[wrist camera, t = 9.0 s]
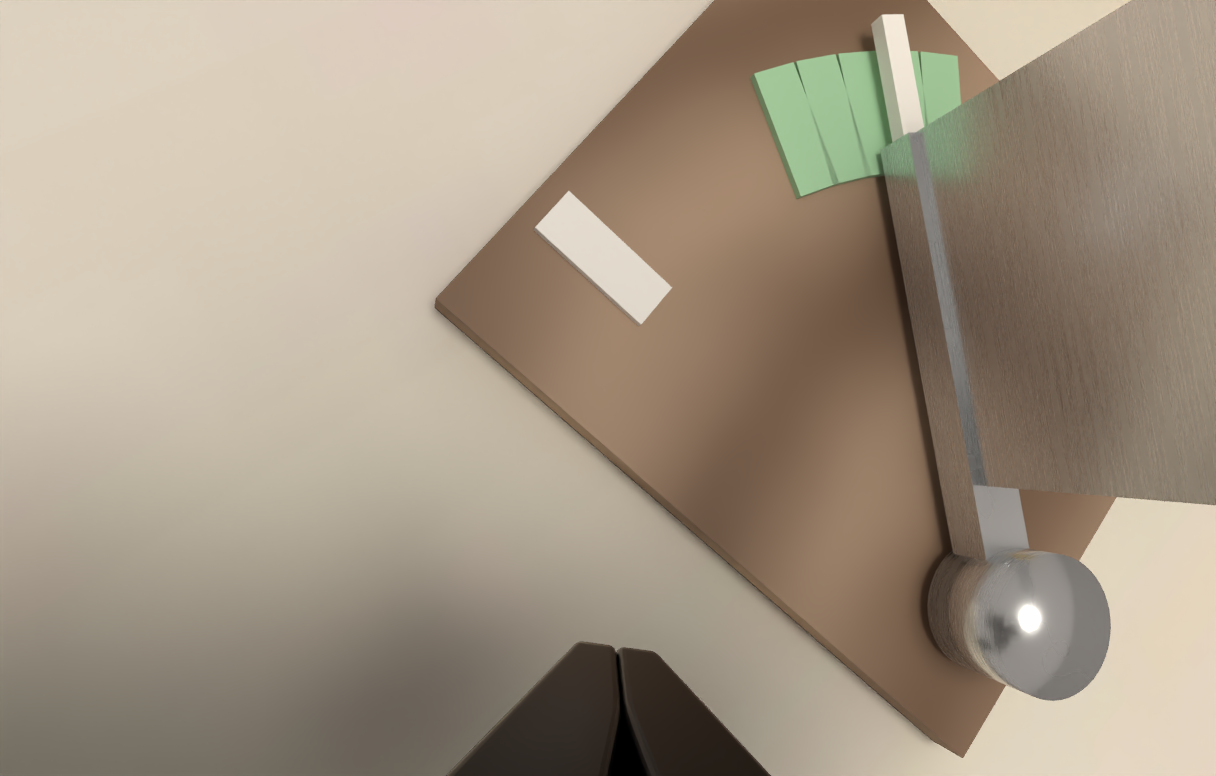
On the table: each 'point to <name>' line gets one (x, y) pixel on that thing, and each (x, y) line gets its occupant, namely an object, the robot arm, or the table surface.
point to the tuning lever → (1058, 314)
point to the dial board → (761, 327)
